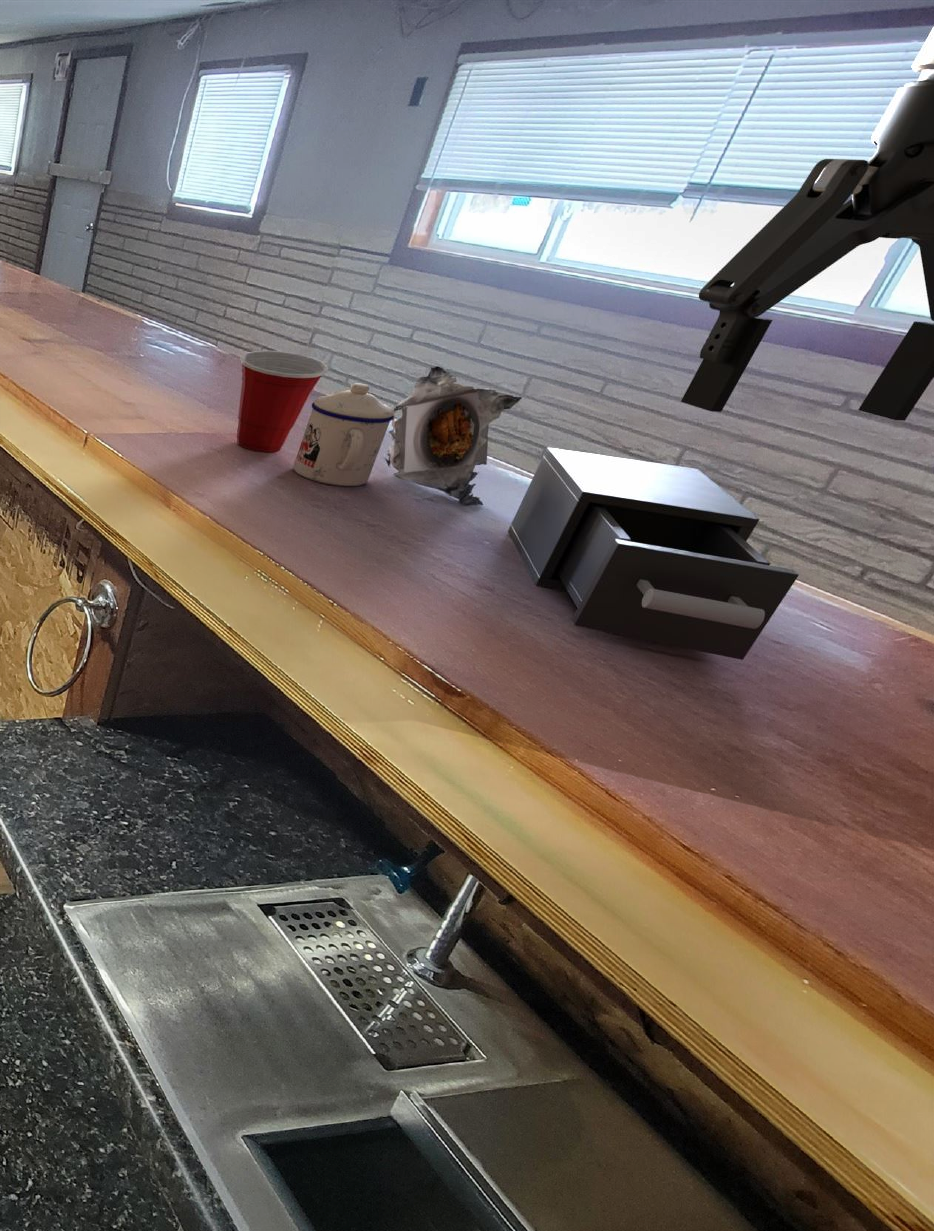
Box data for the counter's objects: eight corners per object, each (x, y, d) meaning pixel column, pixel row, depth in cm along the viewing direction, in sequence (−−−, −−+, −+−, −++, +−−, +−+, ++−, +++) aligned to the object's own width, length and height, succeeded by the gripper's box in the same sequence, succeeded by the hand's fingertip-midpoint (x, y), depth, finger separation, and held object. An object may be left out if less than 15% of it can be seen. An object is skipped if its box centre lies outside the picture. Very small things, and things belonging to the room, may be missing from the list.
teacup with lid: (286, 460, 120) (314, 372, 114) (360, 469, 118) (393, 380, 112) (299, 489, 110) (331, 394, 105) (381, 500, 108) (418, 404, 102)
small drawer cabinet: (699, 617, 83) (760, 519, 79) (535, 585, 88) (583, 491, 83) (648, 556, 96) (698, 468, 91) (507, 531, 101) (547, 447, 96)
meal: (487, 505, 108) (536, 396, 101) (456, 505, 107) (503, 396, 101) (399, 464, 121) (437, 365, 114) (371, 464, 120) (407, 365, 114)
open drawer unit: (763, 684, 71) (824, 596, 67) (586, 647, 75) (633, 562, 71) (684, 592, 86) (730, 515, 82) (540, 565, 90) (577, 491, 86)
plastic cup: (216, 451, 123) (241, 361, 117) (217, 430, 131) (240, 346, 125) (303, 463, 119) (334, 372, 113) (298, 442, 128) (326, 356, 122)
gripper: (1112, 89, 60) (903, 405, 70) (740, 71, 60) (587, 390, 70) (1270, 84, 53) (1014, 433, 64) (853, 64, 53) (666, 417, 64)
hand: (790, 411), depth 67 cm, fingers open, 13 cm apart
